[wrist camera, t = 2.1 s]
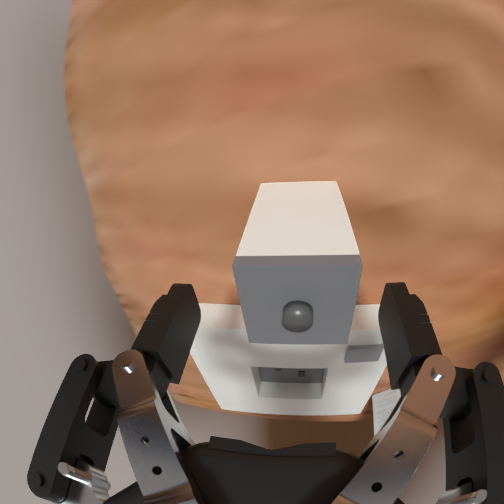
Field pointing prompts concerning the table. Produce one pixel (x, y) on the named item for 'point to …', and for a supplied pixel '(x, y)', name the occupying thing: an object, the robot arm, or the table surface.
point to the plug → (298, 265)
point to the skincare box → (383, 406)
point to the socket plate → (288, 366)
